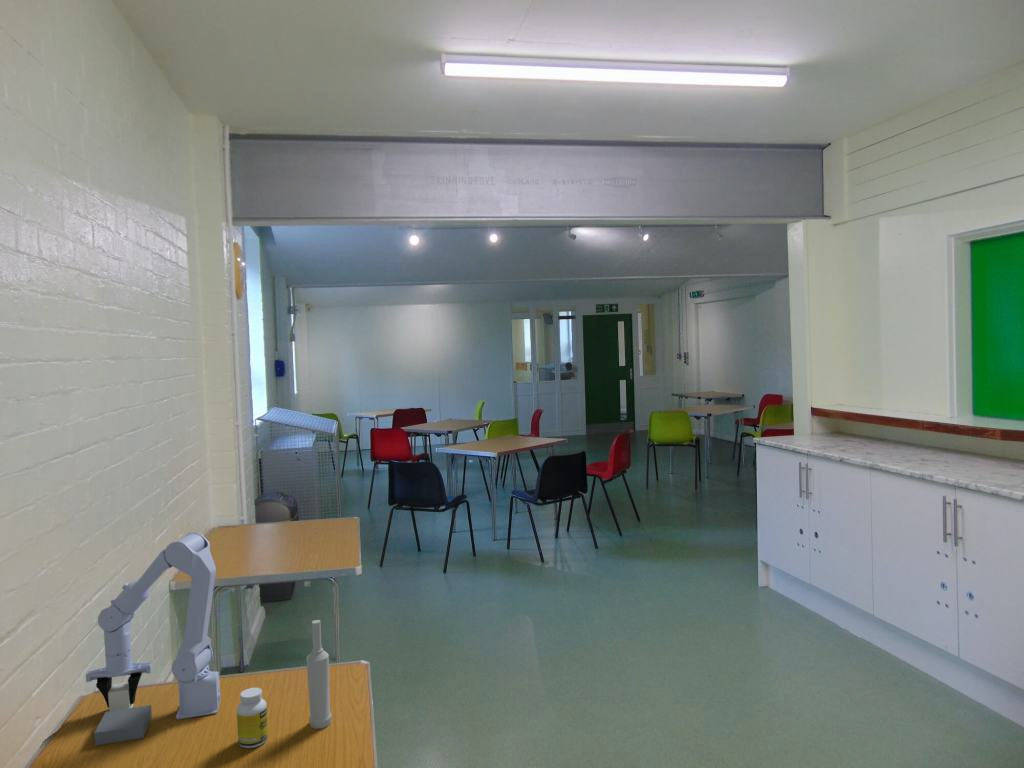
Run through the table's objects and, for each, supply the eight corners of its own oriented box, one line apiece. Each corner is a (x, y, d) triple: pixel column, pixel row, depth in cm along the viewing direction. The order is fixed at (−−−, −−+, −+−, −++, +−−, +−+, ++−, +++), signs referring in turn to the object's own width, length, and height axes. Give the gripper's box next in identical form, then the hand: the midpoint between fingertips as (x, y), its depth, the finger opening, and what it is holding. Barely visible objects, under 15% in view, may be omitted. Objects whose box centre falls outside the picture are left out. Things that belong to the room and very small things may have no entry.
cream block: (133, 704, 182) (132, 681, 182) (129, 713, 178) (128, 689, 178) (114, 707, 181) (112, 684, 181) (109, 716, 177) (108, 692, 176)
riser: (151, 716, 176) (151, 704, 176) (143, 737, 166) (142, 725, 166) (106, 723, 173) (105, 711, 173) (95, 745, 164) (94, 733, 164)
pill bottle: (258, 750, 160) (256, 700, 159) (232, 748, 161) (229, 698, 161) (273, 735, 166) (271, 686, 166) (248, 732, 168) (246, 684, 167)
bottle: (336, 722, 171) (331, 621, 169) (317, 731, 167) (312, 627, 166) (324, 715, 174) (319, 615, 173) (305, 724, 171) (300, 622, 169)
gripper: (153, 640, 185) (156, 691, 185) (90, 649, 181) (93, 701, 181) (147, 652, 178) (150, 704, 179) (82, 660, 174) (85, 714, 175)
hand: (121, 703), depth 180 cm, fingers closed on cream block, 4 cm apart
